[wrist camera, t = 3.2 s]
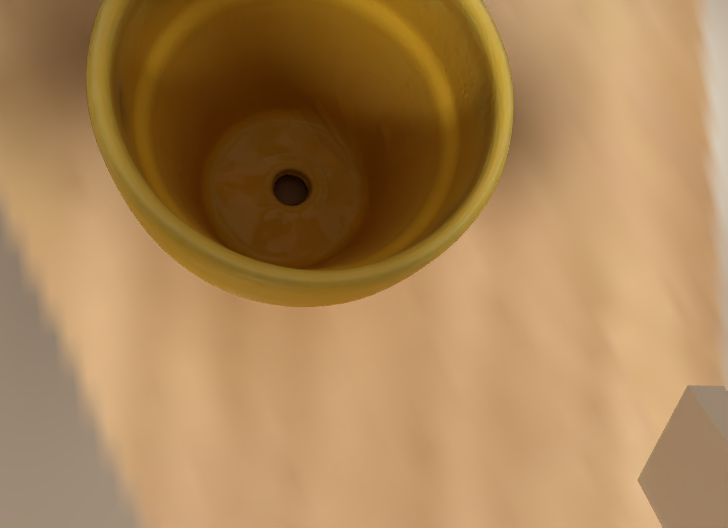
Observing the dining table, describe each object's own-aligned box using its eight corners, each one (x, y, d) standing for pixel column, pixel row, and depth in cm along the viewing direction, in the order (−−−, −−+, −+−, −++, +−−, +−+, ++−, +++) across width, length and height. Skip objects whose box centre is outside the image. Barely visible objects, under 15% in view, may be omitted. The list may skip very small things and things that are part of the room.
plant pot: (397, 57, 28) (478, -120, 18) (442, 311, 26) (556, 262, 17) (128, 75, 26) (62, -113, 16) (158, 352, 24) (104, 323, 15)
